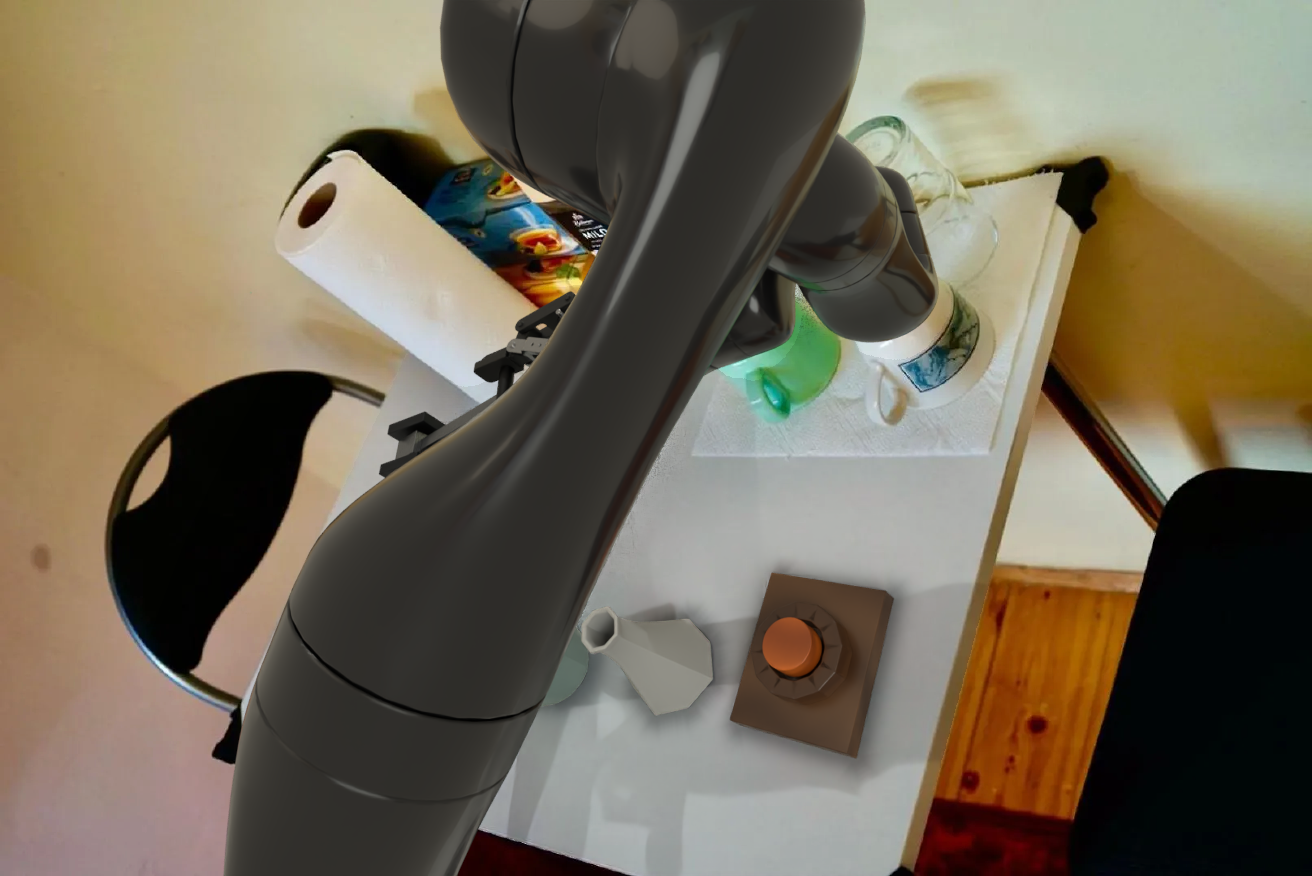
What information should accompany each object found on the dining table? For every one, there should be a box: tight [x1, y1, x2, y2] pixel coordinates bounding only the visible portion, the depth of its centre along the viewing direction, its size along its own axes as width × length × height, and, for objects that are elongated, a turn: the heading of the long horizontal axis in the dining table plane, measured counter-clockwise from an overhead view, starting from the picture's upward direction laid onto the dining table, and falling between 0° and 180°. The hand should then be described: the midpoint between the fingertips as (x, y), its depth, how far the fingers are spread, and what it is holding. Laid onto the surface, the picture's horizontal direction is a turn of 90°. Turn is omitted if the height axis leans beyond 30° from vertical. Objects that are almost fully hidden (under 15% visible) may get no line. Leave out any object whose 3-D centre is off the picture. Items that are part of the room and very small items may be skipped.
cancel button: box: [762, 617, 822, 677], centre depth 60 cm, size 4×4×2 cm
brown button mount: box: [729, 572, 895, 760], centre depth 61 cm, size 11×9×4 cm
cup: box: [541, 626, 590, 707], centre depth 71 cm, size 8×8×10 cm
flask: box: [581, 605, 714, 717], centre depth 65 cm, size 7×7×10 cm
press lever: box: [394, 366, 516, 460], centre depth 74 cm, size 14×6×2 cm, turn 88°
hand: (475, 408), depth 71 cm, fingers closed on press lever, 6 cm apart
